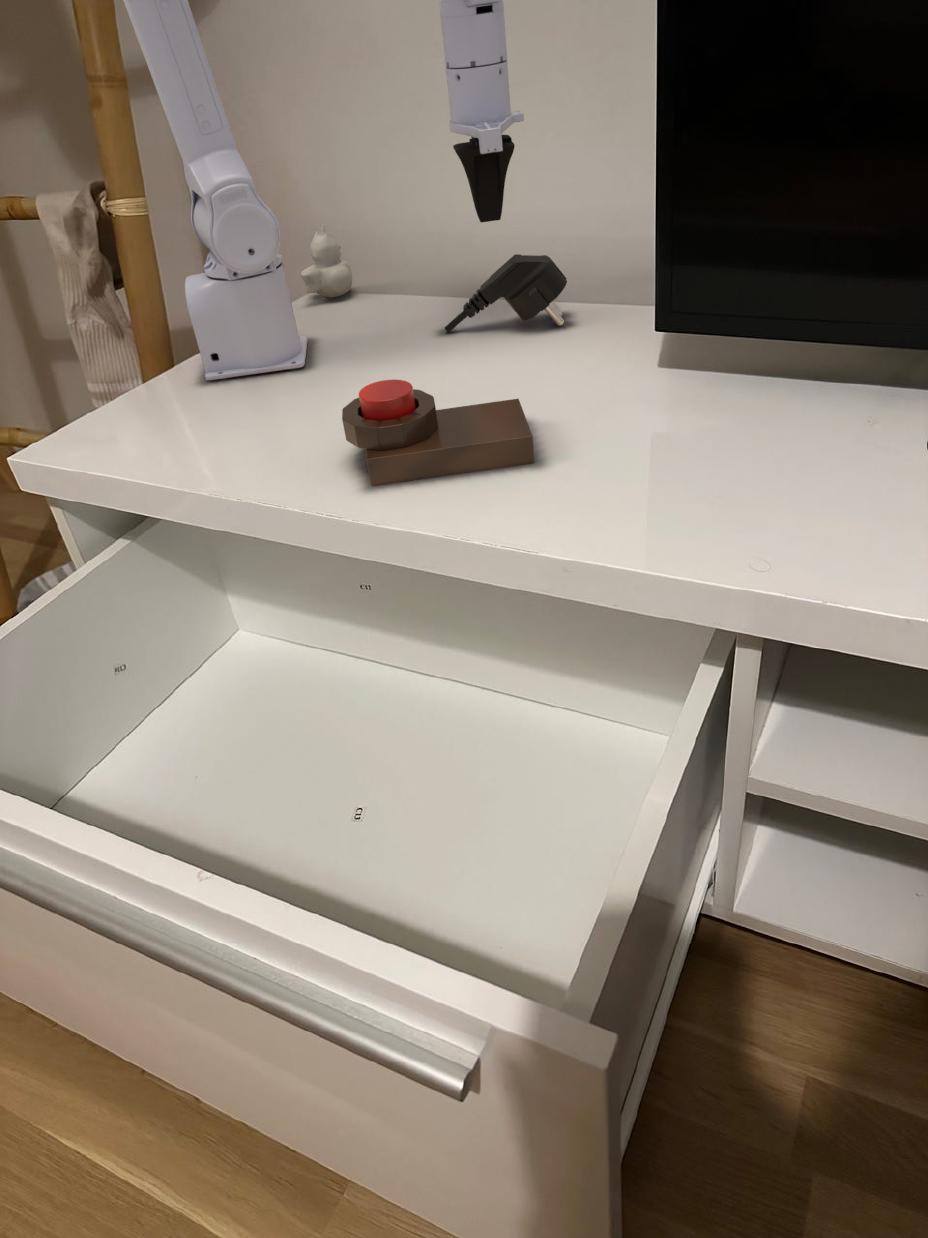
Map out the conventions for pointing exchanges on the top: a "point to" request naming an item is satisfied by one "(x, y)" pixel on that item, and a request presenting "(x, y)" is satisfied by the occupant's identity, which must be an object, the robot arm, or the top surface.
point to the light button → (387, 400)
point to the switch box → (440, 439)
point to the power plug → (520, 289)
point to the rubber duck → (327, 267)
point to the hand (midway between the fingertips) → (489, 219)
